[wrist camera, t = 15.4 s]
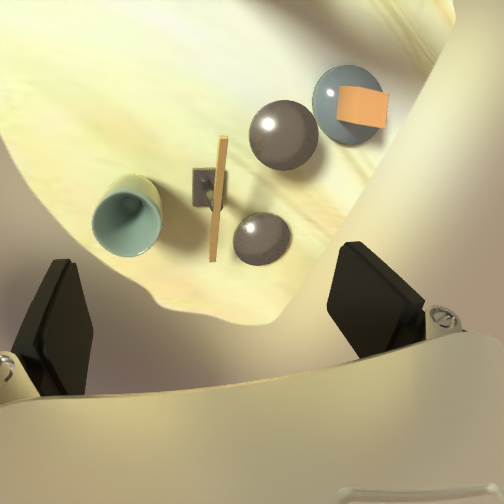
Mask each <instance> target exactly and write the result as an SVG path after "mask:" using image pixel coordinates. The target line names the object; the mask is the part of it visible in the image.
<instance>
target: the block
mask: <svg viewBox="0 0 504 504" xmlns="http://www.w3.org/2000/svg"><path fill="white" fill-rule="evenodd" d="M388 98H389V94H387V93H383V92H379V91H375V90H371V89H367V88H362V87H354V86H340V87H339V98H338V108H337V118H336V119H337V120H342V121H346V122H350V123H354V124H361V125H367V126H373V127H378V128H384V129H385V124H386V116H387V108H388Z"/></svg>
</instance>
